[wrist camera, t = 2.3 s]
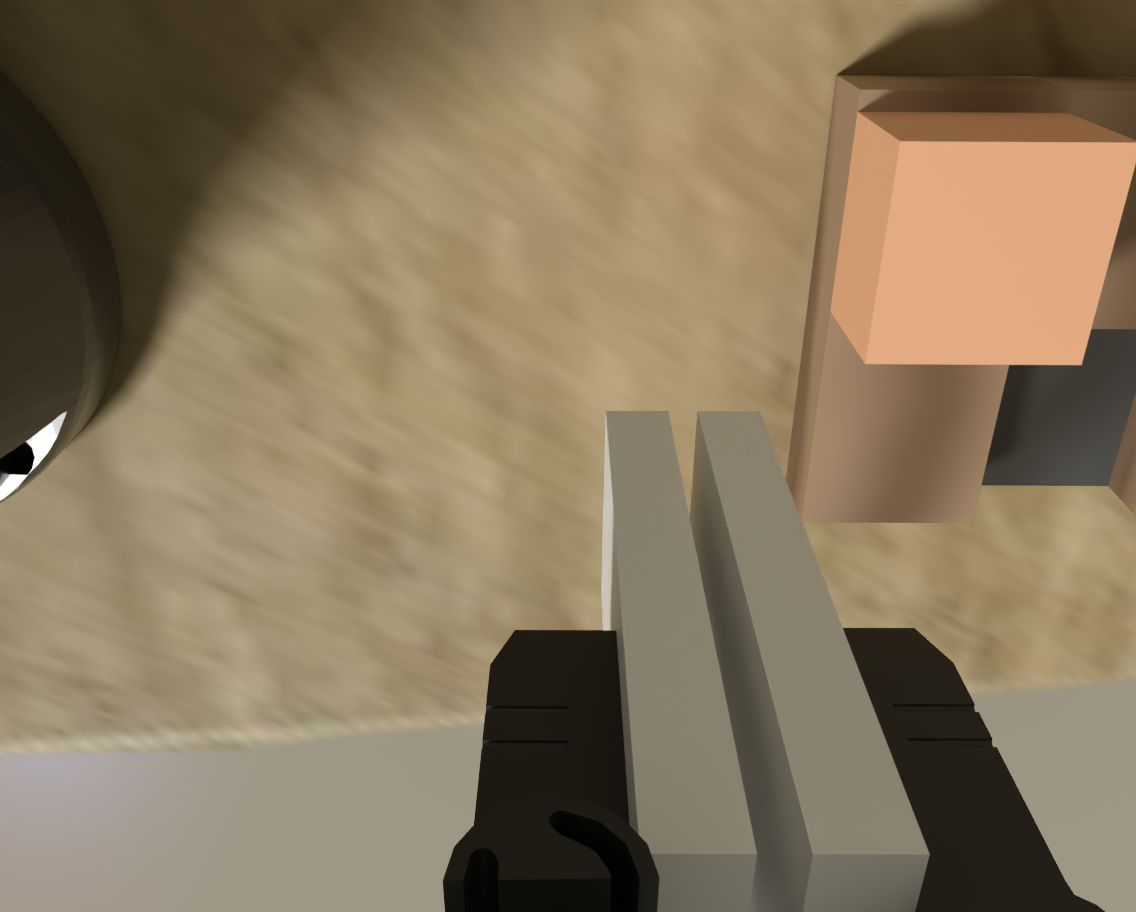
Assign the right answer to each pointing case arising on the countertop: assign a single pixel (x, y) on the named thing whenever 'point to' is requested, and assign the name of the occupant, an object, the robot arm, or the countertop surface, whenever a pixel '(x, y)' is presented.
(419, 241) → the countertop surface
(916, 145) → the block
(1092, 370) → the board
